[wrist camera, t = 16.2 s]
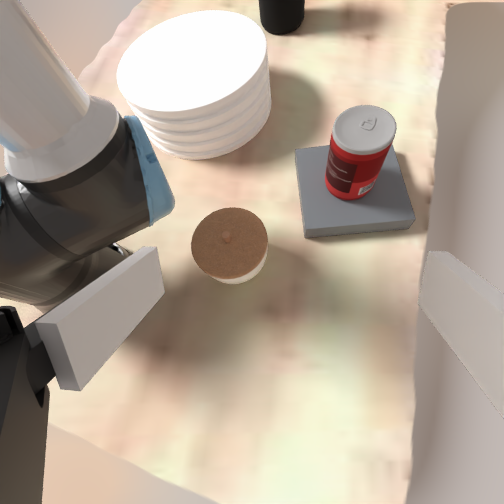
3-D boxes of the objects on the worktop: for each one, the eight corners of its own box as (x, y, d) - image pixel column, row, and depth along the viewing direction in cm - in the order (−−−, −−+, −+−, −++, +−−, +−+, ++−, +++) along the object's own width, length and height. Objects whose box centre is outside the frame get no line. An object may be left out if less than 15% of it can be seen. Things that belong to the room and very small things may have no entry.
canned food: (377, 166, 45) (401, 107, 35) (368, 206, 43) (392, 156, 33) (330, 158, 47) (340, 100, 37) (319, 197, 44) (326, 146, 34)
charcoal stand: (304, 238, 45) (305, 229, 42) (295, 161, 52) (295, 149, 49) (408, 228, 43) (415, 219, 41) (385, 150, 50) (390, 137, 47)
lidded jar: (226, 222, 48) (211, 190, 40) (282, 245, 45) (279, 215, 37) (194, 275, 45) (171, 253, 37) (252, 304, 42) (242, 286, 34)
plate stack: (145, 84, 67) (118, 32, 57) (257, 55, 66) (251, -5, 56) (148, 174, 56) (114, 128, 45) (284, 140, 54) (282, 85, 44)
